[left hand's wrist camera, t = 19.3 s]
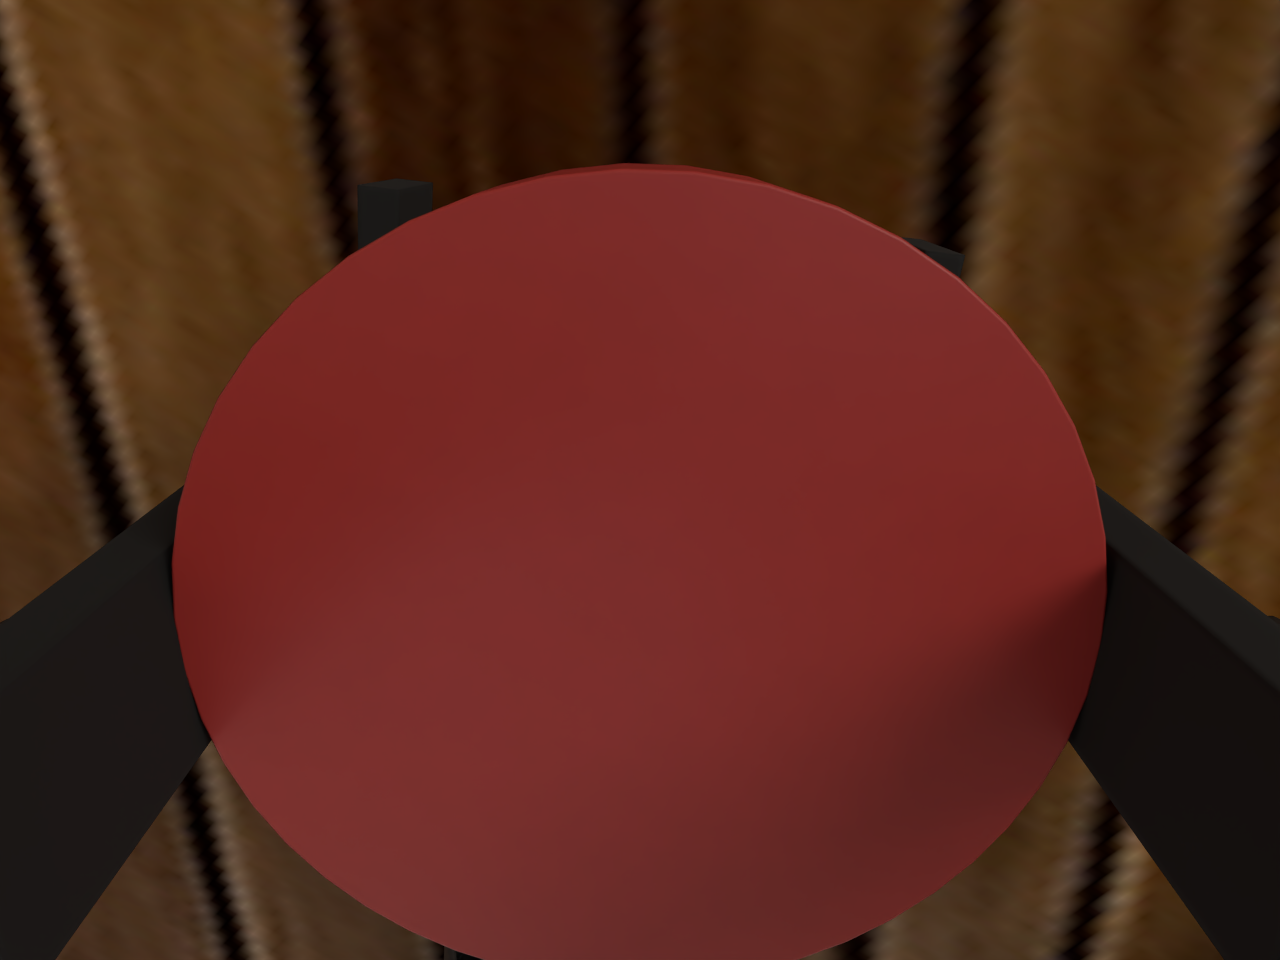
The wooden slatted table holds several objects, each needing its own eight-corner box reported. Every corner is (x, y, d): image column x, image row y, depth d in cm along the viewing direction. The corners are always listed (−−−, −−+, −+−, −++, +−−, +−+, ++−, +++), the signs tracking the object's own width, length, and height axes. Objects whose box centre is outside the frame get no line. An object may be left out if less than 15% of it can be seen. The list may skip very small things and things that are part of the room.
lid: (344, 6, 9) (278, -23, 8) (1204, 358, 11) (1310, 399, 9) (176, 768, 13) (108, 862, 11) (828, 952, 14) (853, 1060, 13)
